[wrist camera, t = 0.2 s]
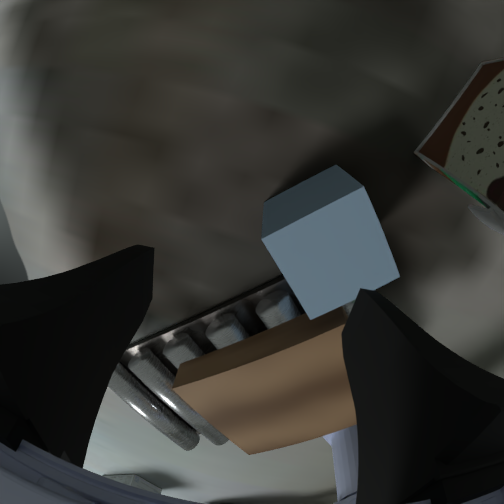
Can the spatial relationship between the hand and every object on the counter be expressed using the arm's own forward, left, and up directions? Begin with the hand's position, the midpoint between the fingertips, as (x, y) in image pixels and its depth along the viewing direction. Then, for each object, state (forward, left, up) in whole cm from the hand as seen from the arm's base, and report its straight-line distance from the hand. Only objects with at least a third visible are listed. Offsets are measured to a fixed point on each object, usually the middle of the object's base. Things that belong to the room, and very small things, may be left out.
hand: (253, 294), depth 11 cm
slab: (-11, +4, -7) cm, 14 cm away
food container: (-2, -16, -10) cm, 19 cm away
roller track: (-11, +8, -10) cm, 17 cm away
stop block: (-2, -3, -10) cm, 10 cm away
